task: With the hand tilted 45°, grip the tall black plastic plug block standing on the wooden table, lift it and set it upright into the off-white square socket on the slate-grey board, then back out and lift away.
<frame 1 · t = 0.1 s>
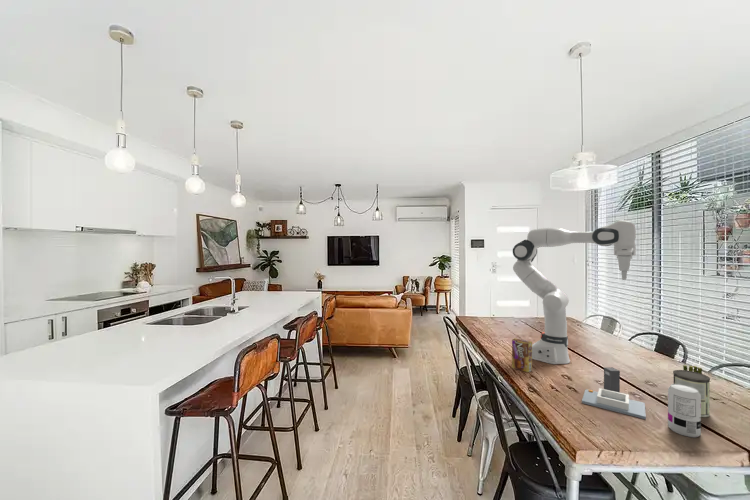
hand: (624, 279, 164), 48 cm above the table, fingers open, 8 cm apart
candy box: (521, 369, 168), on the table
socket base: (613, 404, 130), on the table
plug: (611, 391, 142), on the table
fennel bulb: (693, 393, 141), on the table
coffee can: (690, 411, 125), on the table
supplement can: (683, 432, 111), on the table
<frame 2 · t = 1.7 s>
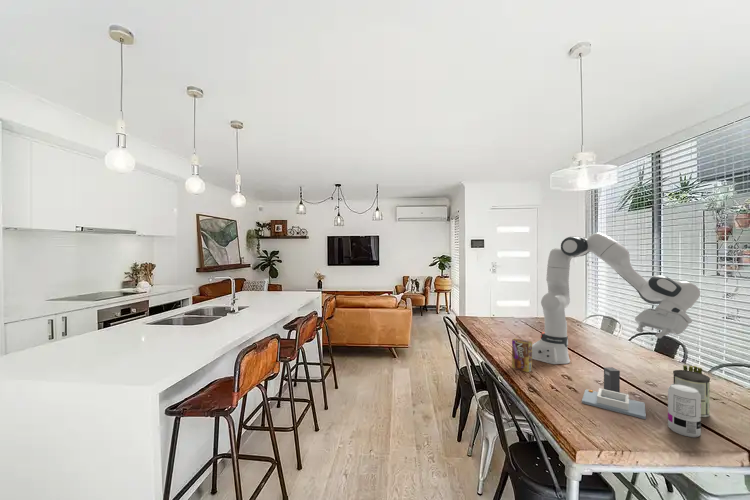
hand: (647, 334, 144), 25 cm above the table, fingers open, 8 cm apart
nothing on the table moved.
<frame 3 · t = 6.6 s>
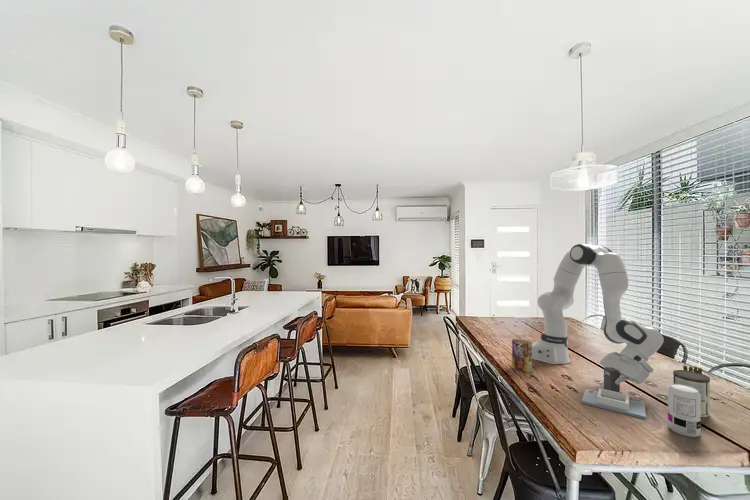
hand: (610, 380, 142), 5 cm above the table, fingers closed on plug, 4 cm apart
plug: (611, 391, 142), on the table, touching gripper
everything else where it was.
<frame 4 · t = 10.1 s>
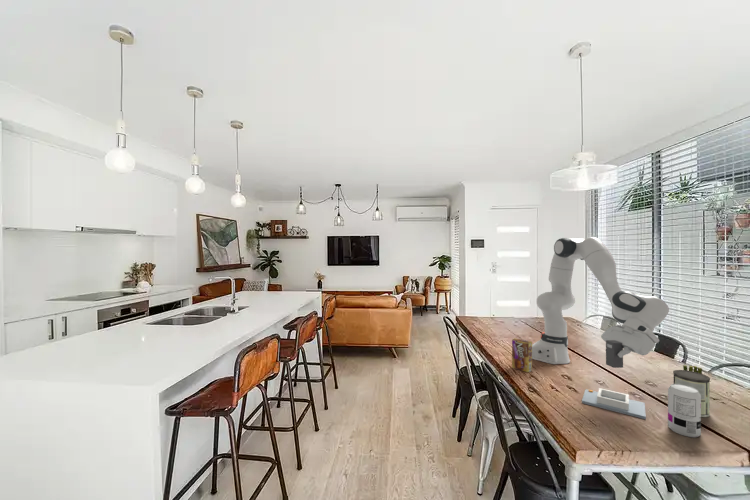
hand: (612, 354, 132), 20 cm above the table, fingers closed on plug, 4 cm apart
plug: (614, 365, 132), point 15 cm above the table, touching gripper
everything else where it was.
when the fingers open (7 cm above the table, at t = 13.8 s): plug stays where it is, resting on socket base.
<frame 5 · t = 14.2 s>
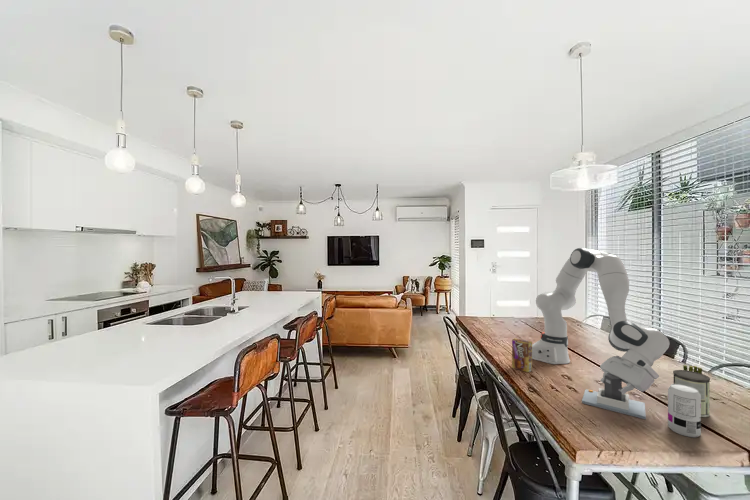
hand: (611, 387, 130), 7 cm above the table, fingers open, 8 cm apart
plug: (612, 401, 130), point 1 cm above the table, touching socket base
everything else where it was.
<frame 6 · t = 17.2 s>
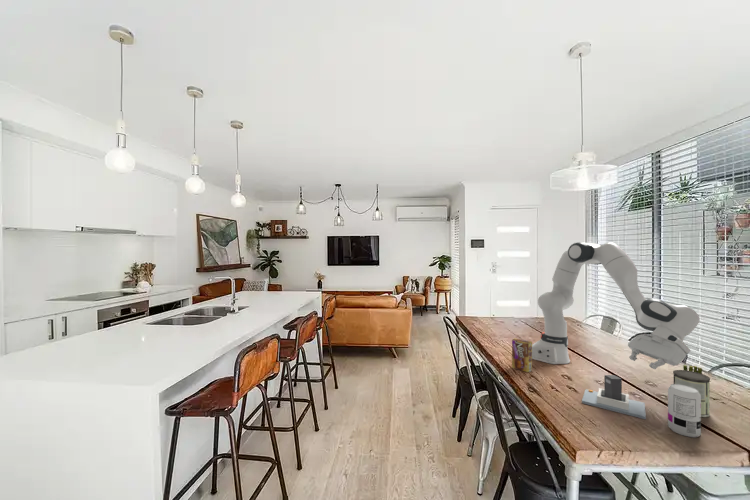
hand: (641, 363, 131), 16 cm above the table, fingers open, 8 cm apart
nothing on the table moved.
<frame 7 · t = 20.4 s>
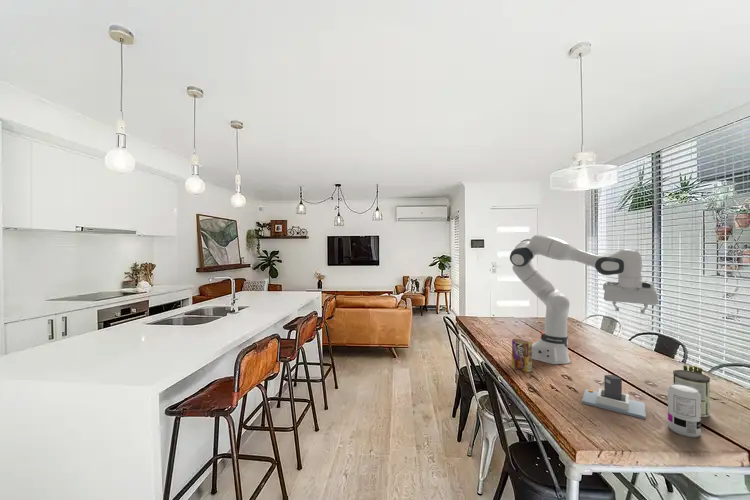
hand: (629, 312, 153), 33 cm above the table, fingers open, 8 cm apart
nothing on the table moved.
at the end: plug 0.1 cm off-centre on the socket base, point 1.0 cm above the socket base's base; plug tilted 0°; the gripper is holding nothing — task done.
